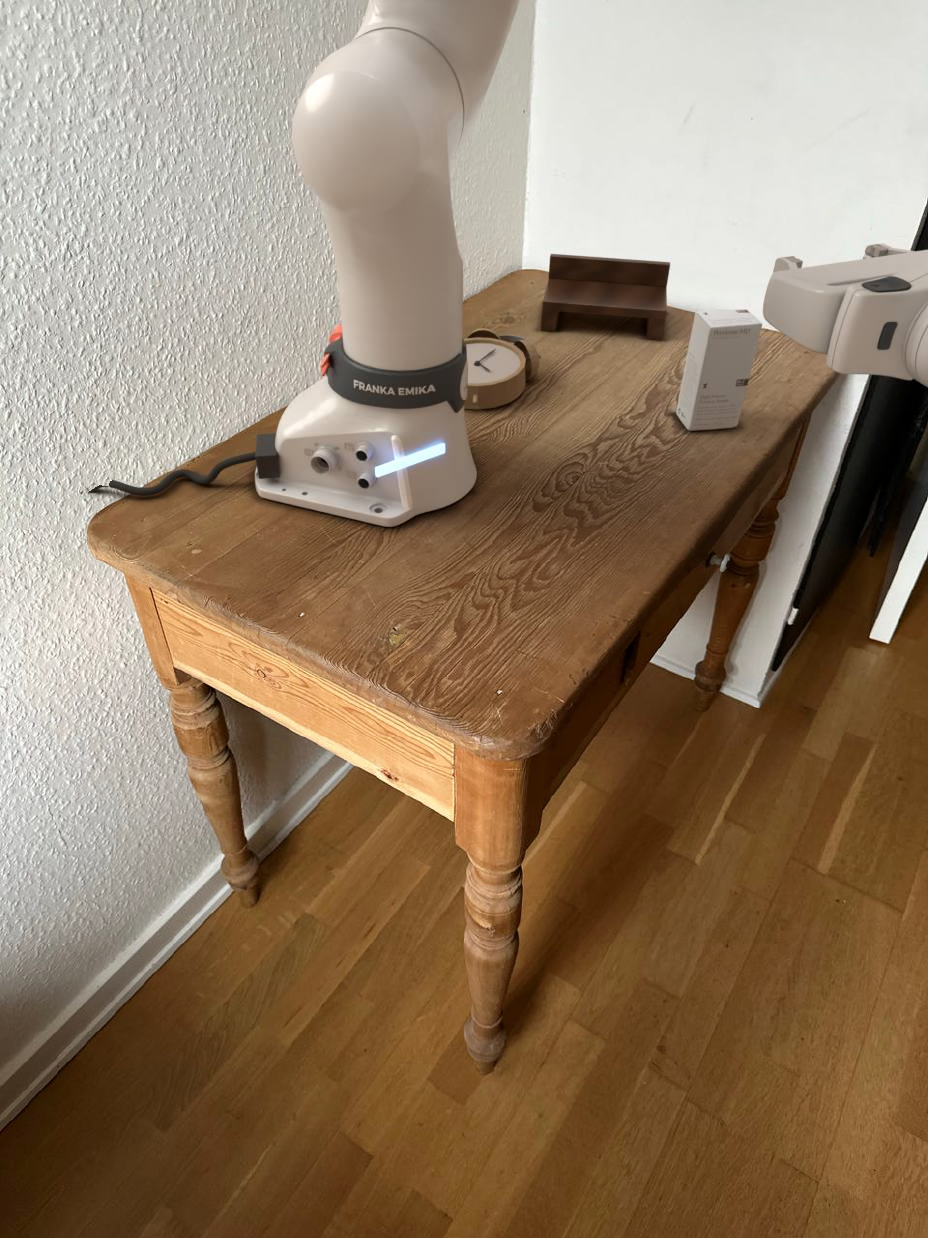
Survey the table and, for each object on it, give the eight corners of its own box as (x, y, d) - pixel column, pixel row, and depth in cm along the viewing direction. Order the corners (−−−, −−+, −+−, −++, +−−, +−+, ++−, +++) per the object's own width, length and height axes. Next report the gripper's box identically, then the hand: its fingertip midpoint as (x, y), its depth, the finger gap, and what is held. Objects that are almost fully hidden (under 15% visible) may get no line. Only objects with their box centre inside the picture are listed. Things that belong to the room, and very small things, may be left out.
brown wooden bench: (540, 330, 120) (544, 277, 115) (546, 304, 127) (550, 253, 122) (662, 340, 118) (670, 287, 114) (661, 312, 125) (670, 261, 120)
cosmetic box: (688, 432, 100) (709, 327, 92) (673, 413, 104) (692, 310, 96) (740, 427, 101) (765, 323, 93) (723, 408, 105) (746, 306, 97)
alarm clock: (408, 369, 104) (482, 306, 112) (414, 404, 108) (485, 341, 116) (488, 397, 100) (560, 329, 107) (491, 433, 103) (560, 365, 111)
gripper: (1059, 262, 70) (933, 209, 80) (842, 295, 65) (735, 234, 75) (1026, 339, 74) (910, 280, 84) (819, 377, 69) (720, 309, 79)
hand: (826, 259), depth 79 cm, fingers open, 8 cm apart
